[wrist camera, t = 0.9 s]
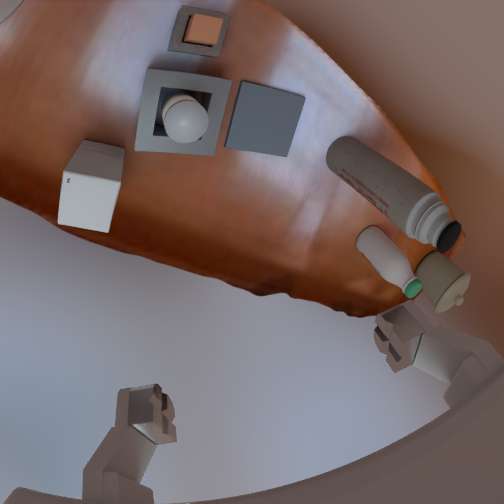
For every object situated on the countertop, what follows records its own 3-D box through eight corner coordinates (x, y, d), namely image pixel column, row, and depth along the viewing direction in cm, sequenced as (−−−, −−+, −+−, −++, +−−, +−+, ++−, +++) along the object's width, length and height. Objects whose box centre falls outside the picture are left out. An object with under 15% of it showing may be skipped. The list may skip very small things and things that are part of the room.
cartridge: (164, 88, 35) (168, 98, 27) (197, 92, 37) (212, 104, 29) (158, 120, 38) (161, 141, 30) (190, 123, 40) (203, 145, 32)
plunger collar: (178, 11, 28) (182, 5, 24) (222, 19, 31) (231, 14, 27) (167, 51, 32) (169, 50, 28) (211, 57, 34) (218, 57, 31)
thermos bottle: (331, 179, 55) (429, 272, 35) (321, 147, 50) (434, 235, 29) (362, 162, 55) (464, 243, 34) (354, 129, 49) (471, 205, 29)
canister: (419, 284, 101) (451, 322, 86) (400, 279, 91) (436, 322, 76) (447, 249, 93) (482, 285, 78) (432, 238, 83) (473, 280, 68)
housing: (147, 67, 32) (147, 68, 28) (221, 77, 37) (232, 80, 32) (135, 138, 38) (134, 150, 34) (205, 143, 43) (213, 156, 38)
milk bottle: (351, 238, 68) (400, 295, 54) (374, 219, 67) (427, 272, 52) (359, 254, 73) (404, 308, 59) (381, 236, 72) (428, 287, 58)
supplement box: (73, 181, 38) (54, 224, 29) (83, 138, 35) (62, 169, 26) (115, 190, 42) (108, 235, 33) (127, 148, 39) (121, 182, 30)
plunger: (188, 19, 28) (194, 13, 23) (212, 24, 29) (223, 19, 25) (182, 41, 29) (187, 39, 25) (206, 45, 31) (216, 43, 27)
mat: (240, 80, 38) (242, 81, 37) (302, 96, 42) (305, 97, 42) (224, 145, 44) (225, 147, 43) (284, 155, 48) (286, 157, 48)
